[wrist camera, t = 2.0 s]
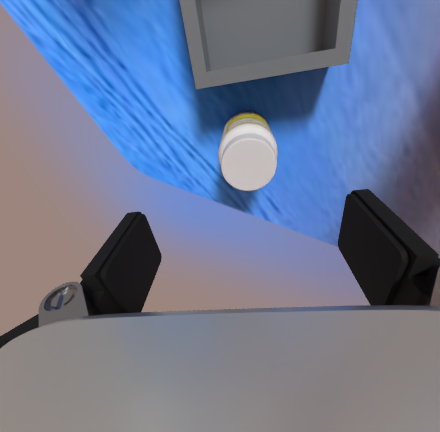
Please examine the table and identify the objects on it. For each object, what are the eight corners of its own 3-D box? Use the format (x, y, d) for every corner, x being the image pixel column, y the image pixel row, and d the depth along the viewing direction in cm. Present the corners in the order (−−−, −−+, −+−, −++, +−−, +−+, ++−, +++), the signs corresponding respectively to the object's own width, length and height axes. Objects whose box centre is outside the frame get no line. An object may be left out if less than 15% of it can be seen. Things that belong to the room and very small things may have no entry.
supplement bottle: (250, 165, 24) (253, 206, 18) (214, 141, 23) (202, 175, 16) (279, 128, 22) (296, 158, 15) (240, 99, 21) (240, 117, 14)
